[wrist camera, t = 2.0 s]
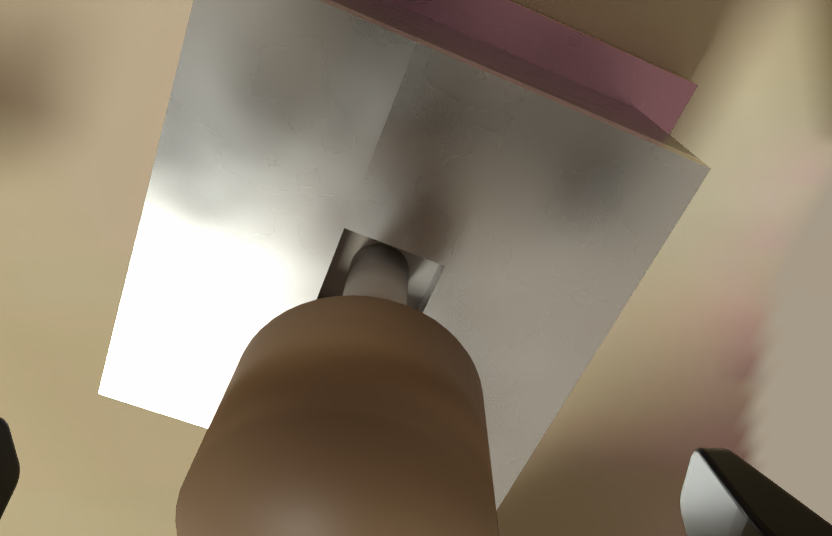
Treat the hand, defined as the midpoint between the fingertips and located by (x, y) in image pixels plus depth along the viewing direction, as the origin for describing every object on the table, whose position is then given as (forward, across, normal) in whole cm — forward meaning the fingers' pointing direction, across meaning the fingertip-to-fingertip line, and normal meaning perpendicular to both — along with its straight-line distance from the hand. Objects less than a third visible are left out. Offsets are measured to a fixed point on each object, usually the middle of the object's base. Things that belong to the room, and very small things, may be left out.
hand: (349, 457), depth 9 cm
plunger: (+6, 0, 0) cm, 6 cm away
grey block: (+10, 0, 0) cm, 10 cm away
